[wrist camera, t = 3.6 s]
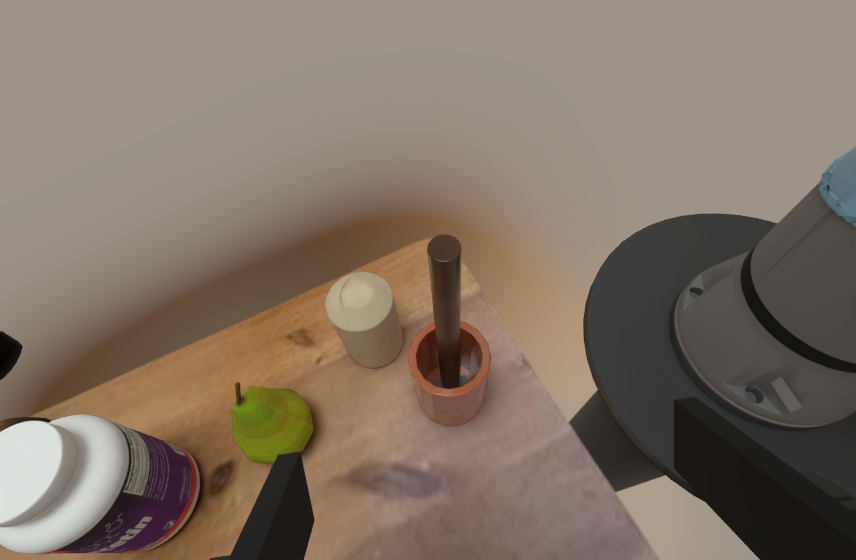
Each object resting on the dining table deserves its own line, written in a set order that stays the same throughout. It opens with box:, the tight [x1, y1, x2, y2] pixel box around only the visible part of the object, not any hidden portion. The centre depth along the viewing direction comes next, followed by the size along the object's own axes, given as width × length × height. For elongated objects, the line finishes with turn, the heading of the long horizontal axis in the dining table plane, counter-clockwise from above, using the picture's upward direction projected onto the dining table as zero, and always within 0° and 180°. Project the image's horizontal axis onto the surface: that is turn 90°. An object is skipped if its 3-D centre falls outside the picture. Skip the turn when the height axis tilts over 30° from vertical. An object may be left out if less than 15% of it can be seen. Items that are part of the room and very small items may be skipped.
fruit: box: [232, 382, 314, 464], centre depth 34 cm, size 6×6×12 cm
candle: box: [325, 272, 403, 368], centre depth 39 cm, size 6×6×10 cm
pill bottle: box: [0, 415, 200, 554], centre depth 31 cm, size 8×8×14 cm
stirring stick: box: [427, 235, 468, 389], centre depth 30 cm, size 3×2×22 cm, turn 99°
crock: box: [408, 321, 491, 426], centre depth 36 cm, size 6×6×9 cm
